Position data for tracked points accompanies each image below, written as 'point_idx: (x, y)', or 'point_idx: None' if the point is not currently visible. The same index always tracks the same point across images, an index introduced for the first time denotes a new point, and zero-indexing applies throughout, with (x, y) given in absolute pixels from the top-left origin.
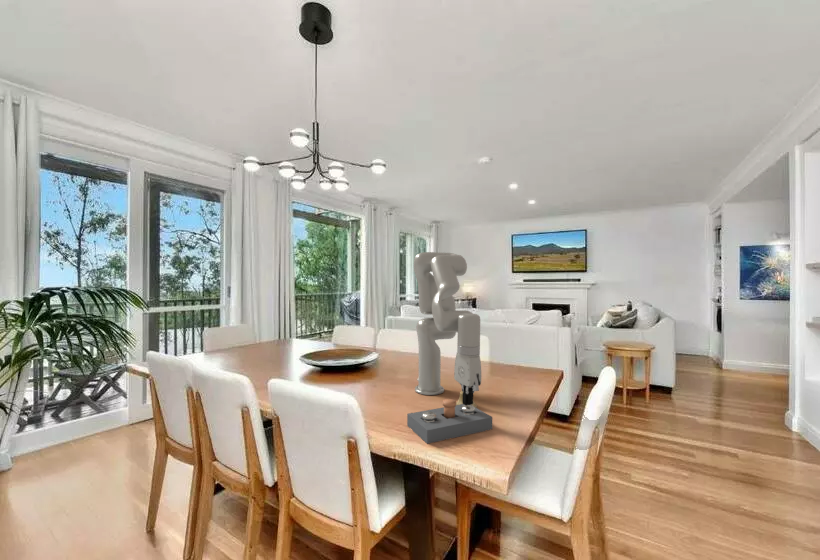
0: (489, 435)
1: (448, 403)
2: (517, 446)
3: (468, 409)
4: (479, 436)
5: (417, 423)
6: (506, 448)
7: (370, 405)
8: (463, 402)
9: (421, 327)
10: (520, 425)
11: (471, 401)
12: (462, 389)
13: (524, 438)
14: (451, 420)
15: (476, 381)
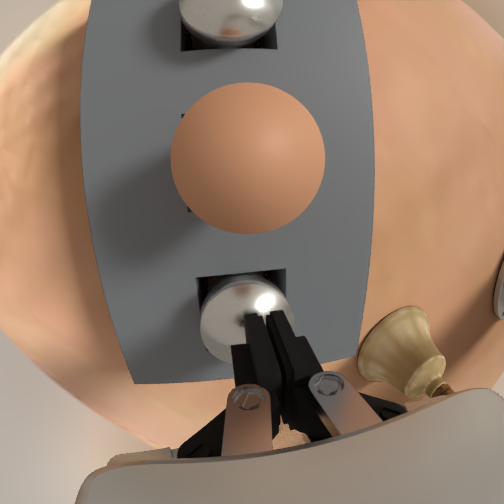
0: (90, 304)
1: (193, 114)
2: (15, 336)
3: (208, 311)
4: (87, 258)
5: None
6: (2, 297)
7: (494, 38)
8: (273, 317)
9: None
10: (159, 430)
11: (233, 370)
12: (335, 387)
13: (64, 387)
14: (144, 131)
15: None
